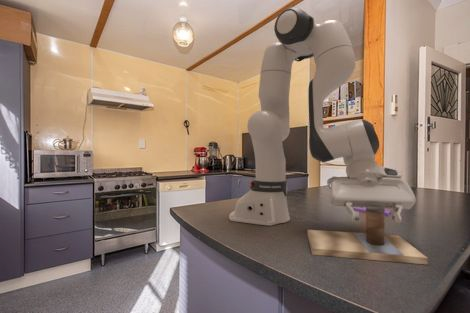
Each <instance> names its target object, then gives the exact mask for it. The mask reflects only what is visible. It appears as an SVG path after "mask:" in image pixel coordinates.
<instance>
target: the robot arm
mask: <svg viewBox="0 0 470 313" xmlns="http://www.w3.org/2000/svg"><path fill="white" fill-rule="evenodd" d="M277 16H278V17H276V20H275V23H274V26H273V27H274V33H275V34H274V35H275V36H276V39H277V40H278V42H272V43H270V44H268V45H267V46H266V48H265V50H264V53H263V56H262V61H261V66H260V74H259V75H260V76H259V85H258V99H259V102H260V103H259V104H260V110H258V111H256V112H254V113H252V114H251V116H250V117H249V119H248V121H247V124H246V126H247V131H248V134H249V135H250V138H251V143H252V147H253V148H252V149H253V154H254V160H255V164H254V165H255V179H252V180H250V183H249V189H250V190H248V191H247V192H246V193H245V194H244V195H242V196H241V197H240V198H238V200H237V201H236V204H235V207H234V208H235V209H234V211H231V212H230V213H229V215H228V220H230V221H231V222H236V223H237V222H238V223H245V224H251V225H252V224H253V225H262V226H275V225H278V224H283V223H287V222H289V221H290V220H291V216H290V214H289V209H288V201H287V195H288V180H286V178H287V176H286V173H287V172H286V171H287V170H286V167H287V164H286V162H287V160H286V156H285V152H284V146H283V141H286V139H288V137H289V135H290V132H291V129H290V128H291V127H290V88H291V78H292V69H293V68H292V67H293V64H294V61H295V62H297V63H298V62H301V61H304V60H306V59H311V58H314V59H313V60H314V63H315V73H314V76H313V78H312V79H311V80H310V81H309V83H308V89H307V90H308V94H307V95H308V96H307V99H308V103H307V104H308V120H309V121H308V123H309V124H308V125H309V131H308V132H309V133H308V134H309V139H308V149H309V152H310V153H309V154H310V155H311V157H312V158H313V159H315V160H317V161H318V162H322V163H327V162H330V161H333V160H334V161H335V160H336V159H340V158H341V159H343V163H344V165H345V174H346V176H332V177H330V178H328V179H327V180H326V185H327V187H328V188H329V190H330V191H329V201H330V204H331V205H332V206H333V207H344V209H345V211H346V212H347V213H348V214H349V215H350V217H351V220H352V221H358V222H359V221H360V212H357V211H354V209H353V208H354V207H366V206H368V205H374V206H381V207H384V208H385V209H390V210H393V212H395V213H392V214H391V216H390V219H391V220H392V223H394V224H401V223H402V221H403V220H402V216H401V213H402V210H411V209H412V207H413V206H414V205H415V204H416V202H417V198H416V196H415V194H414V191H413V189H412V187H411V185H409V183H408V182H407V181H406V180H404V179H403V178H402V177H403V173H402V171H401V170H399V169H393V168H390V167H386V166H383V165H380V164H378V162H377V161H376V154H377V152H378V150H379V148H380V140H379V137H378V135H377V133H376V130H375V126H374V125H373V123H372V122H370V121H368V120H366V119H363V118H362V119H361V118H360V119H356V120H353V121H349V122H345V123H341V124H339V125H335V126H331V127H324V115H323V114H324V113H323V112H324V111H323V109H324V108H323V105H324V102H325V99H326V98H327V97H329V95H331V93H333V92H334V91H336V90H337V89H338V88H340V87H341V86H343V84H345V83H346V82H347V81H348V80H349V79H350V78H351V76H352V75H353V73H354V71H355V68H356V66H357V65H356V57H355V51H354V48H353V45H352V40H351V39H350V36H349V34H348V32H347V30H346V28H345V27H344V26H345V25H344V24H343V23H342V22H340V21H339V20H337V19H329V20H326V21H323V22H321V23H316V22H315V19H314V17H313V16H311V15H310V14H309V13H307V12H306V11H305V10H303V9H300V8H298V7H295V6H290V7H288V8H285V9H284V10H282V12H280V13H279V14H278V15H277Z"/></svg>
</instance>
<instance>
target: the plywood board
mask: <svg viewBox="0 0 470 313" xmlns="http://www.w3.org/2000/svg"><path fill="white" fill-rule="evenodd" d="M307 238H308V241H309V242H308V243H309V246H310V250H311V254H312V255H313V256H324V257H326V256H327V257H337V258H346V259H347V258H349V259H356V260H358V259H360V260H368V261H369V260H370V261H371V260H372V261H382V262H393V263H394V262H395V263H403V264H404V263H405V264H416V265H428V264H429V258H428V257H427V256H426V255H425V254H423V253H422V252H421V251H420V250H418V249H417V248H415V247H414V246H412V245H411V244H410V243H409V242H407V241H406V240H405V239H403V238H402V237H401V236H399V235H394V234H384V245H373V244H369V243H367V242H366V232H365V233H364V232H353V231H352V232H351V231H338V230H337V231H336V230H321V229H320V230H319V229H307Z"/></svg>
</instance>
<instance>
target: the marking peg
mask: <svg viewBox="0 0 470 313" xmlns="http://www.w3.org/2000/svg"><path fill="white" fill-rule="evenodd" d="M385 209H386V208H384V207H381V206H374V205H368V206H366V213H365V214H366V215H365V233H366V242H367V243H369V244H373V245H384V235H385V223H386V220H385V217H386V216H385Z"/></svg>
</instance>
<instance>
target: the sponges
mask: <svg viewBox="0 0 470 313" xmlns="http://www.w3.org/2000/svg"><path fill="white" fill-rule="evenodd" d="M352 208H353V209H354V211H356V212H359V213H365V214H366V207H352ZM390 215H392V209H388V208H385V217H389V216H390Z"/></svg>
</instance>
